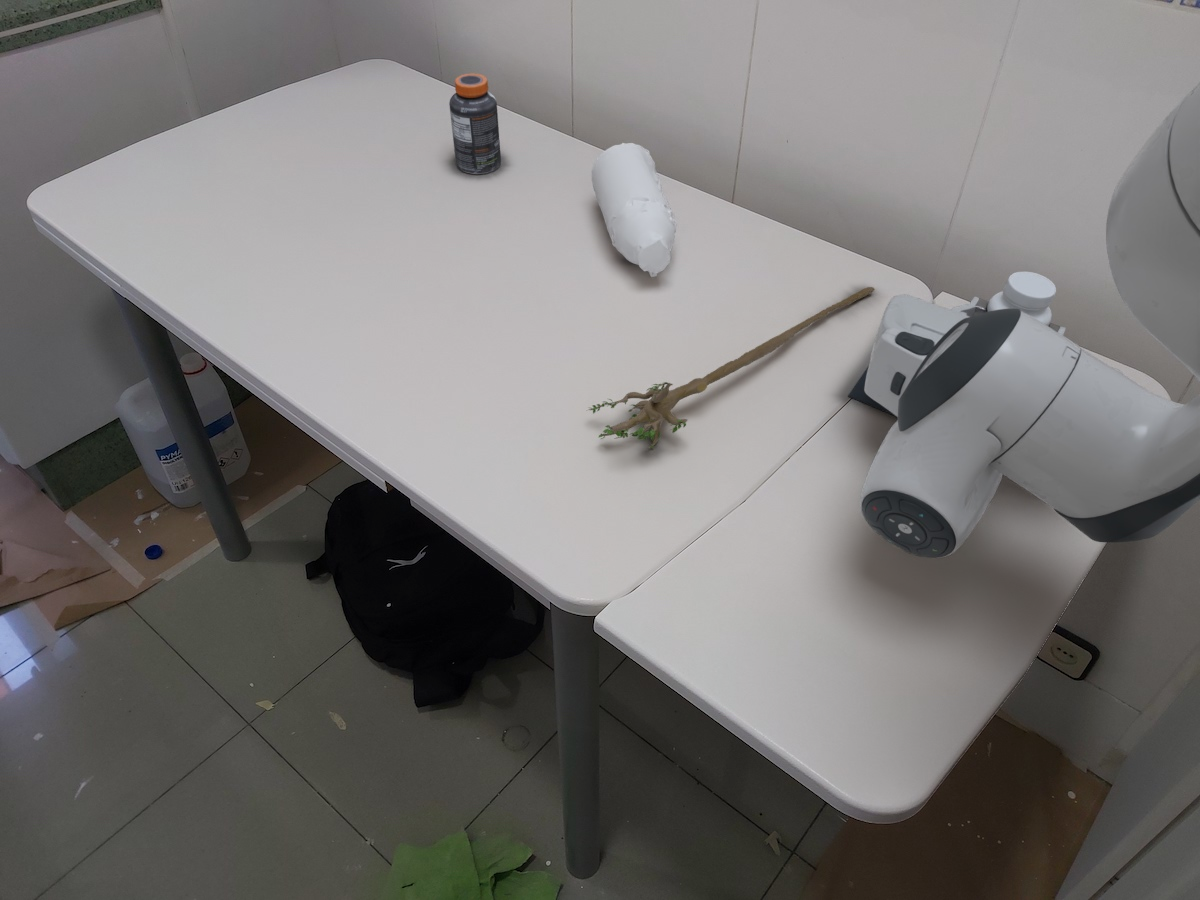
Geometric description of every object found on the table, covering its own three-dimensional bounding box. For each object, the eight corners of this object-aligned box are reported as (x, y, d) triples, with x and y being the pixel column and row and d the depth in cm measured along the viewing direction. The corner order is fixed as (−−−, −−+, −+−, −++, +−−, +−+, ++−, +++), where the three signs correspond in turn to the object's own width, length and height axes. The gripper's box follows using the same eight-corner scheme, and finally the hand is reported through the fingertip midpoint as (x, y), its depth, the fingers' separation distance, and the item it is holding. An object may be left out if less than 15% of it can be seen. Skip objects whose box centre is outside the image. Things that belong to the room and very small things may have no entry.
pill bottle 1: (499, 152, 119) (494, 67, 110) (502, 174, 115) (497, 88, 106) (455, 154, 118) (446, 69, 110) (456, 176, 114) (447, 90, 106)
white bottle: (616, 294, 97) (618, 231, 91) (590, 204, 110) (591, 144, 104) (686, 288, 98) (693, 226, 92) (653, 199, 111) (657, 140, 105)
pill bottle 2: (1033, 386, 82) (1077, 300, 75) (979, 390, 81) (1018, 305, 74) (1006, 348, 85) (1045, 264, 78) (954, 353, 85) (989, 268, 78)
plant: (866, 290, 98) (884, 227, 92) (921, 327, 94) (944, 263, 88) (572, 430, 82) (572, 364, 77) (622, 482, 78) (626, 416, 72)
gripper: (1123, 426, 66) (1155, 331, 74) (863, 328, 73) (918, 251, 81) (1087, 482, 70) (1121, 387, 78) (846, 385, 78) (900, 307, 86)
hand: (1016, 317), depth 80 cm, fingers closed on pill bottle 2, 5 cm apart
